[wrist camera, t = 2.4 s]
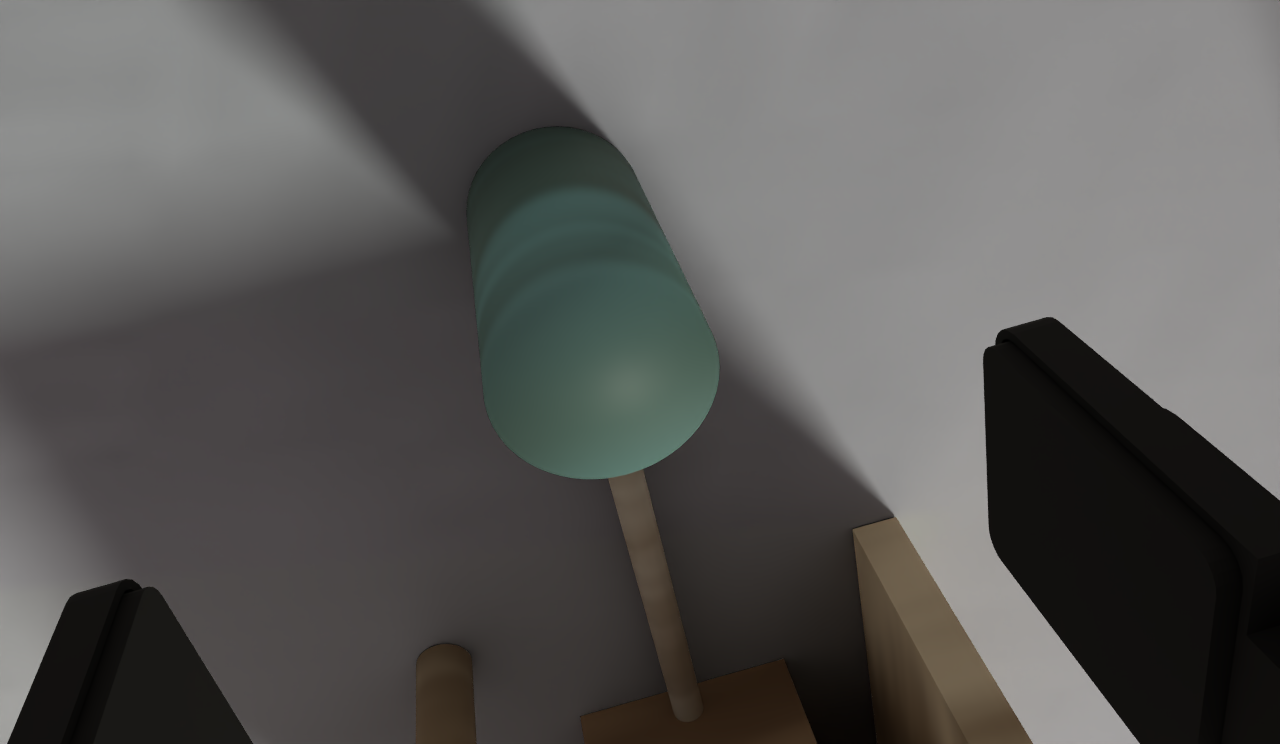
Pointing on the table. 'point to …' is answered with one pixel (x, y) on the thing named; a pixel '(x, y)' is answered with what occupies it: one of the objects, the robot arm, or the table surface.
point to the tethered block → (607, 392)
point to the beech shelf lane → (896, 653)
